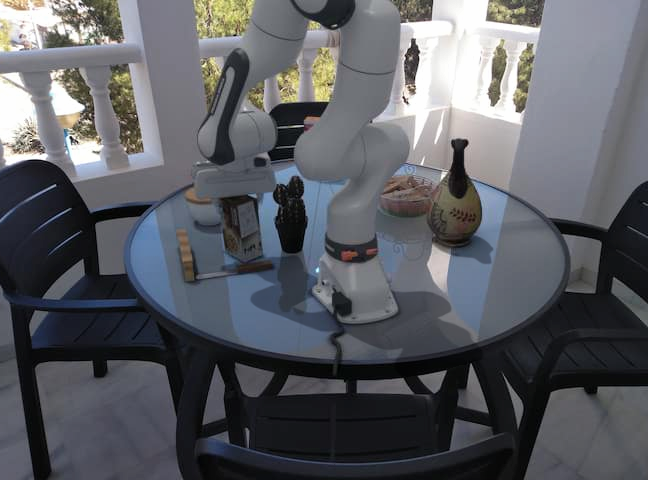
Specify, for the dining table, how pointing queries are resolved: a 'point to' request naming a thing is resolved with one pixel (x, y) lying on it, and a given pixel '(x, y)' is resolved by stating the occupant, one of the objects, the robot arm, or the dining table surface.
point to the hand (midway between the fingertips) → (237, 210)
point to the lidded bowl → (201, 209)
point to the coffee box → (241, 227)
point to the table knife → (240, 269)
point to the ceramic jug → (455, 203)
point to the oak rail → (186, 254)
